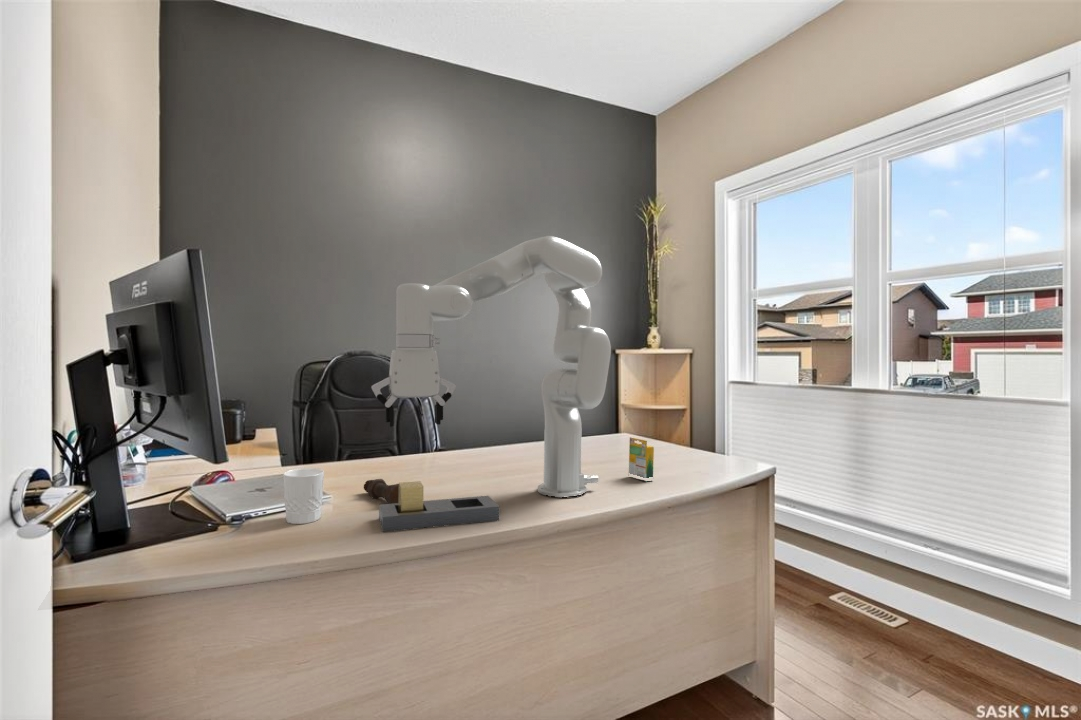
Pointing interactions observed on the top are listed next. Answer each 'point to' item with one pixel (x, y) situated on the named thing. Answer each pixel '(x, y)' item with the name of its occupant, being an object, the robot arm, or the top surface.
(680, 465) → the top surface
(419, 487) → the gold block
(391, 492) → the bolt
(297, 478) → the white cup
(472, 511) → the grey peg board
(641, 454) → the crayon box
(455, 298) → the robot arm
